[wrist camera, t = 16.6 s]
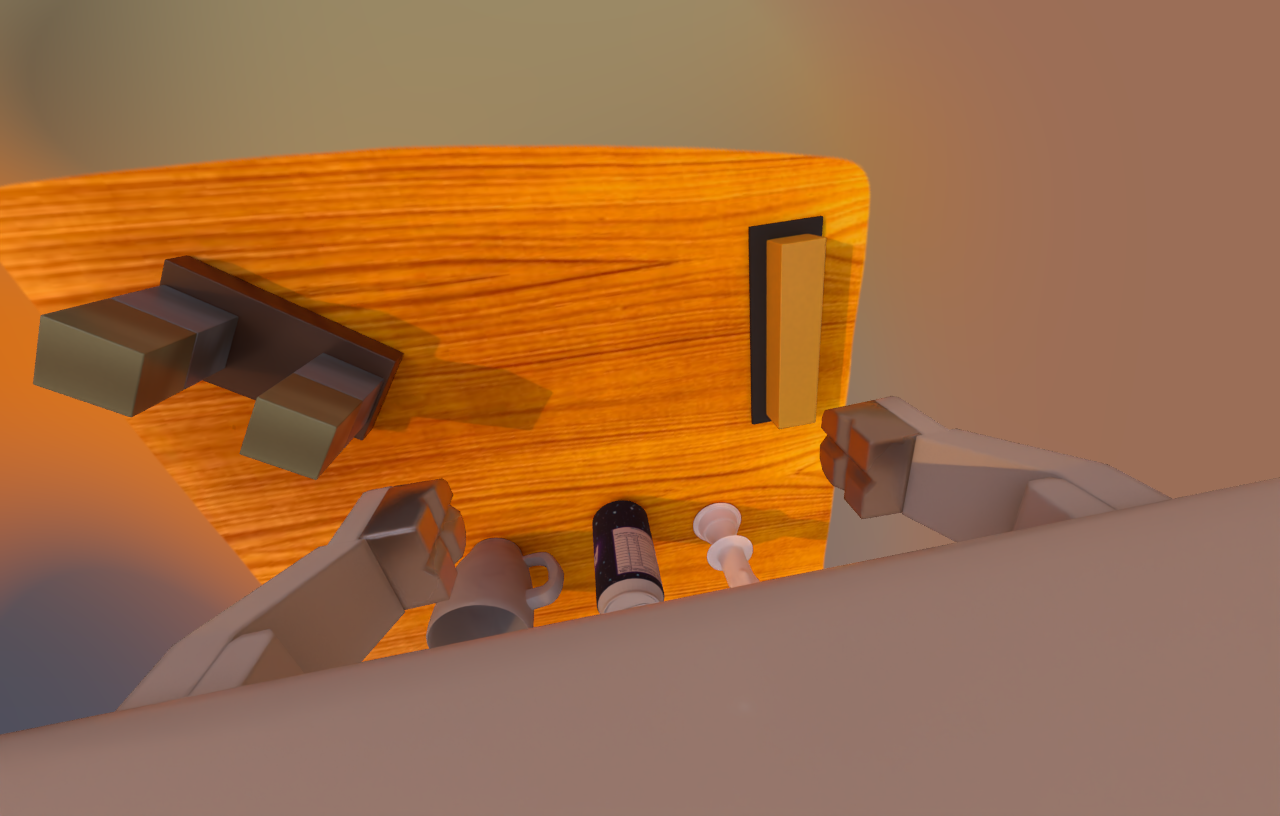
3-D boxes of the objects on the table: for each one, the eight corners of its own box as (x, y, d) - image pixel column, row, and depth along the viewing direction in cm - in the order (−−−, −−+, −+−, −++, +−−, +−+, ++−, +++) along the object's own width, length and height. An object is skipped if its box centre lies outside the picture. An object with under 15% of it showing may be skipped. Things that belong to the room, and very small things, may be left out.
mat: (748, 226, 36) (750, 227, 35) (820, 215, 36) (823, 216, 36) (751, 422, 44) (752, 424, 44) (810, 412, 44) (812, 414, 44)
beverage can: (585, 504, 46) (588, 601, 35) (638, 488, 46) (657, 580, 35) (601, 543, 48) (609, 645, 38) (652, 528, 48) (674, 626, 38)
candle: (685, 536, 49) (716, 633, 39) (703, 497, 47) (741, 589, 37) (728, 543, 51) (769, 639, 40) (748, 506, 49) (797, 597, 38)
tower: (187, 254, 32) (36, 282, 23) (404, 353, 37) (350, 407, 28) (166, 349, 34) (23, 407, 25) (372, 429, 39) (312, 501, 30)
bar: (808, 233, 36) (826, 237, 34) (801, 408, 44) (815, 422, 41) (766, 239, 36) (781, 244, 33) (766, 414, 43) (778, 429, 41)
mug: (478, 597, 49) (458, 684, 41) (435, 542, 45) (403, 626, 37) (580, 560, 49) (581, 640, 40) (545, 501, 45) (539, 576, 36)
